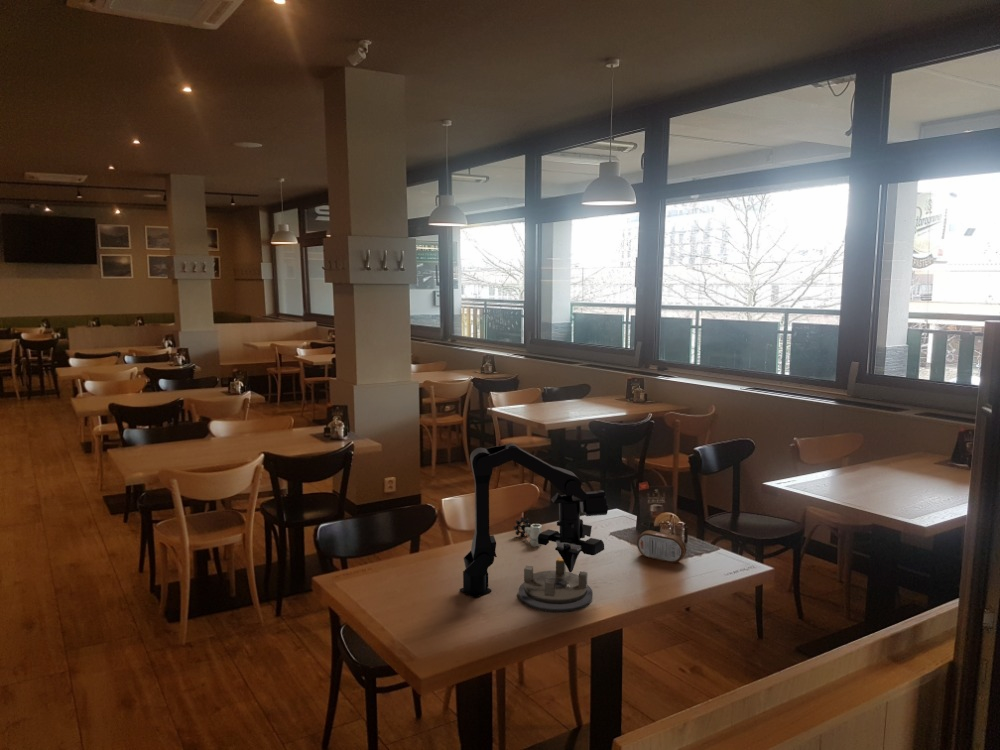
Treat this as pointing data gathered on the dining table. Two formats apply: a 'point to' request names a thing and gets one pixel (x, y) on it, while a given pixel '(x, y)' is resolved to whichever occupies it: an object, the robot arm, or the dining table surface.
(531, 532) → the valve
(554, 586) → the round fixture plate
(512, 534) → the dining table surface
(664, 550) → the tin
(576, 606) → the base plate
